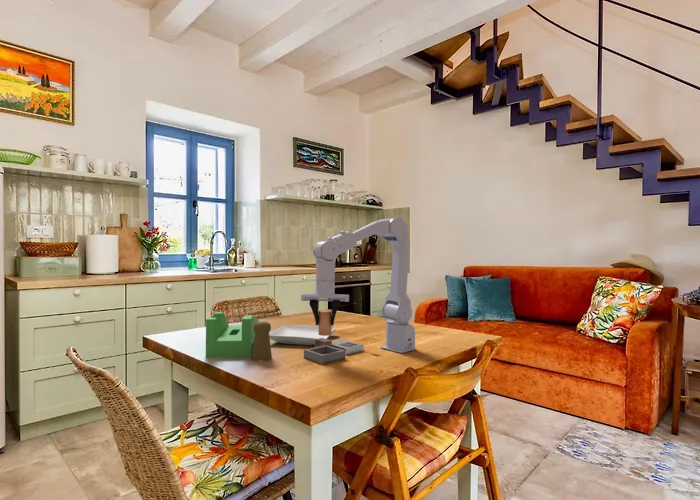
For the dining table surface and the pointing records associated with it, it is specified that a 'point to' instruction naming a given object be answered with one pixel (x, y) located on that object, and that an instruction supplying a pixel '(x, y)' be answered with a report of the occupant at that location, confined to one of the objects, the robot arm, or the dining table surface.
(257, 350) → the brown pawn
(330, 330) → the dowel
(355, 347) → the grey flat frame
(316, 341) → the block
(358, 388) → the dining table surface
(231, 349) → the ramp block with notch
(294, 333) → the salad plate
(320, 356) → the tray
